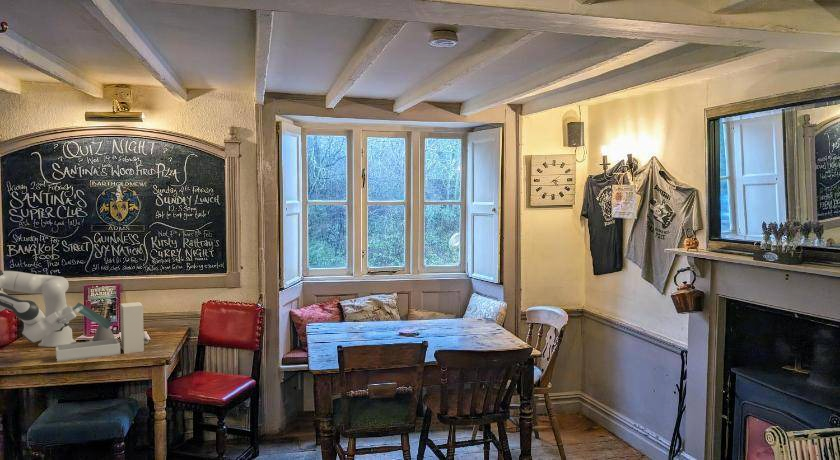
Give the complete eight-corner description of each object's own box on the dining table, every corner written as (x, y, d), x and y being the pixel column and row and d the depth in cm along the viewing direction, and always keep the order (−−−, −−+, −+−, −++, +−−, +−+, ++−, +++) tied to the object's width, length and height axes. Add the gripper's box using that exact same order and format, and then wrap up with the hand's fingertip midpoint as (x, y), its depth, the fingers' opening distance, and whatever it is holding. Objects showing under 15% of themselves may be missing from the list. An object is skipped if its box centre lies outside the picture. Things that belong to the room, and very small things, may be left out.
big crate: (55, 356, 331) (55, 345, 330) (117, 349, 347) (117, 338, 347) (57, 362, 320) (56, 350, 319) (120, 354, 336) (120, 343, 336)
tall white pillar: (121, 348, 348) (120, 303, 346) (140, 346, 353) (139, 302, 351) (124, 353, 338) (123, 307, 336) (143, 351, 343) (143, 305, 341)
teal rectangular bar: (73, 308, 330) (78, 302, 331) (106, 327, 339) (111, 321, 340) (74, 309, 326) (79, 303, 327) (107, 329, 336) (112, 323, 337)
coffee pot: (111, 344, 357) (111, 319, 356) (90, 345, 354) (89, 320, 353) (121, 336, 377) (121, 312, 377) (101, 336, 375) (100, 312, 374)
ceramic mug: (126, 345, 356) (126, 332, 355) (132, 341, 364) (132, 329, 363) (145, 345, 356) (145, 332, 356) (150, 342, 364) (150, 329, 364)
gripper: (53, 319, 314) (80, 304, 321) (52, 312, 332) (77, 298, 338) (61, 329, 317) (87, 313, 323) (59, 321, 334) (84, 307, 340)
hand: (82, 305), depth 330 cm, fingers closed on teal rectangular bar, 4 cm apart
